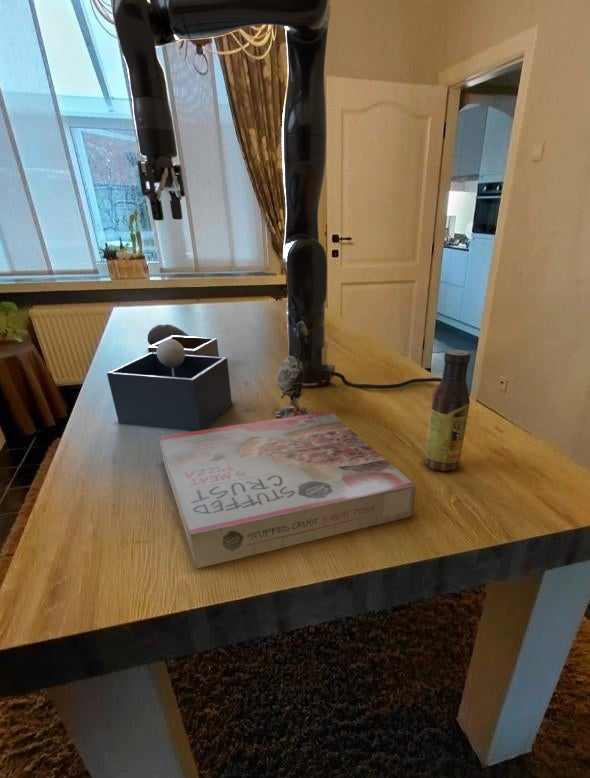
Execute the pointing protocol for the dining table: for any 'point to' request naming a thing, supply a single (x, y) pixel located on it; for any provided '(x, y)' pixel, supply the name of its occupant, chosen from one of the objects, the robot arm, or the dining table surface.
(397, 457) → the dining table surface
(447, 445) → the sauce bottle
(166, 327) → the seashell
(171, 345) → the lollipop
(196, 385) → the bin
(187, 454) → the pizza box
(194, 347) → the basket
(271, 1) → the robot arm
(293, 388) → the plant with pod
